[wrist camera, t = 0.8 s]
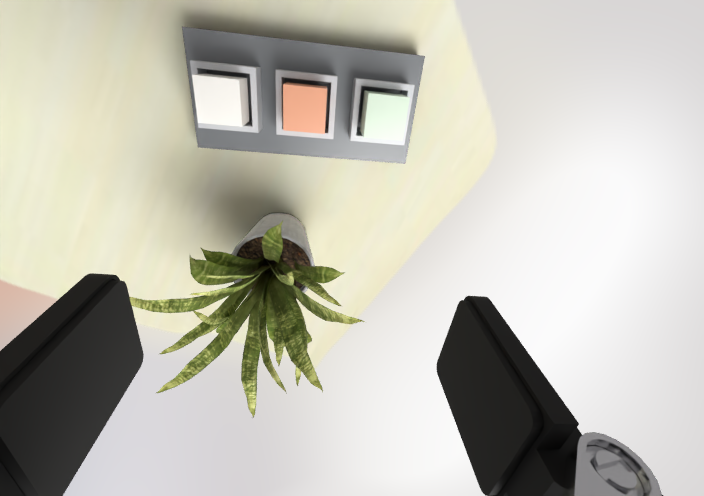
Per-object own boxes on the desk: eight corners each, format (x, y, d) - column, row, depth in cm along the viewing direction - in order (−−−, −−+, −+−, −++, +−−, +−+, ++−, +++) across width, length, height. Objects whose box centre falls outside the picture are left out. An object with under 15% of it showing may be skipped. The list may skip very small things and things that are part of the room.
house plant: (176, 264, 33) (69, 415, 19) (213, 139, 27) (100, 221, 13) (305, 307, 37) (296, 456, 23) (361, 205, 32) (393, 322, 17)
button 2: (286, 82, 23) (283, 84, 20) (326, 86, 23) (327, 88, 21) (286, 124, 24) (283, 130, 22) (324, 127, 24) (324, 133, 22)
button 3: (364, 90, 23) (368, 93, 21) (401, 94, 24) (410, 97, 22) (359, 130, 25) (363, 137, 23) (395, 133, 25) (402, 140, 23)
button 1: (204, 73, 22) (191, 74, 20) (247, 78, 22) (239, 79, 20) (209, 117, 23) (197, 122, 21) (249, 120, 24) (242, 126, 22)
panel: (192, 29, 24) (170, 23, 20) (417, 56, 26) (433, 55, 22) (205, 141, 27) (189, 153, 24) (400, 157, 30) (410, 170, 26)
